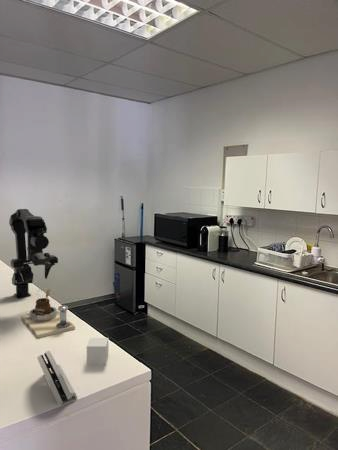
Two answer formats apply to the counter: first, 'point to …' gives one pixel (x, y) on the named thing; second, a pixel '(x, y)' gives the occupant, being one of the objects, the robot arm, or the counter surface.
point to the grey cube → (97, 351)
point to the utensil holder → (43, 305)
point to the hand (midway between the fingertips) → (35, 280)
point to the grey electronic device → (56, 378)
